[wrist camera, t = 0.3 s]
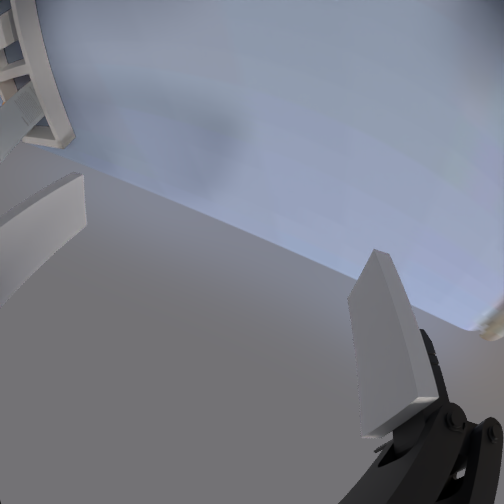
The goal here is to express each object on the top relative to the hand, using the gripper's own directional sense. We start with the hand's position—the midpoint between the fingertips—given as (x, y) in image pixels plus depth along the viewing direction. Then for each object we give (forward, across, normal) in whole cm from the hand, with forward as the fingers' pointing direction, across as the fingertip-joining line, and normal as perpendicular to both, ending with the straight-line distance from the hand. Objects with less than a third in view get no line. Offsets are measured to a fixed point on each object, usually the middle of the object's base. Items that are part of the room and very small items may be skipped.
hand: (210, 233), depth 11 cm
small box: (+17, -31, +3) cm, 36 cm away
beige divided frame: (+13, -32, +9) cm, 35 cm away
